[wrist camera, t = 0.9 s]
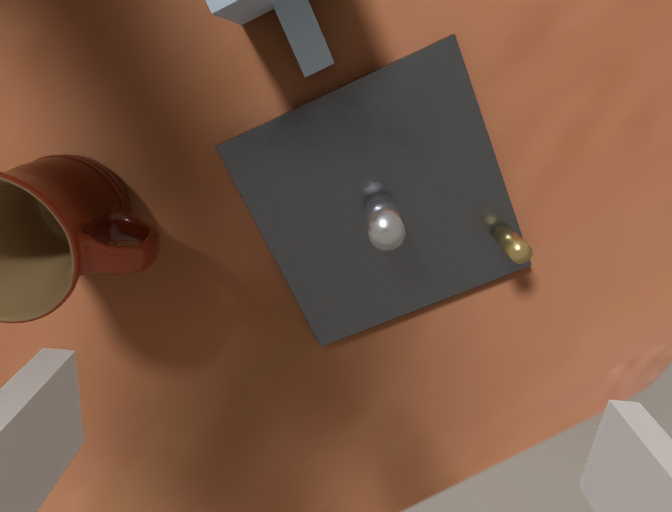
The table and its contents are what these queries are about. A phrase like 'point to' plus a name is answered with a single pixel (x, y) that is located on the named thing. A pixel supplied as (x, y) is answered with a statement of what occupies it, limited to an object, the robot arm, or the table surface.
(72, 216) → the mug
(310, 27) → the hollow square cube
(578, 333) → the table surface
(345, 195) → the post plate
